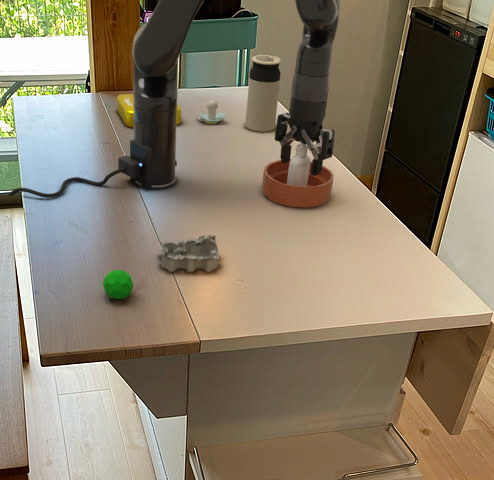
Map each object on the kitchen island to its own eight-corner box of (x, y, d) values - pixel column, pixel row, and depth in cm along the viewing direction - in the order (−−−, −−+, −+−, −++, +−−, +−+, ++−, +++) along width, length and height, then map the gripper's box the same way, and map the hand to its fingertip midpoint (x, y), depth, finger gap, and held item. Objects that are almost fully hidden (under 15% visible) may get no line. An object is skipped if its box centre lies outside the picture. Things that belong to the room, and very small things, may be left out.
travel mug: (250, 133, 188) (257, 63, 177) (241, 122, 194) (246, 54, 184) (278, 131, 190) (286, 62, 179) (268, 121, 196) (275, 54, 186)
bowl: (299, 215, 149) (302, 193, 147) (247, 190, 158) (249, 169, 155) (344, 196, 158) (347, 175, 155) (292, 174, 167) (295, 153, 164)
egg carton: (216, 253, 134) (218, 234, 132) (218, 274, 128) (220, 254, 126) (160, 251, 134) (160, 232, 131) (159, 272, 128) (160, 252, 125)
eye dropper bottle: (311, 194, 157) (319, 142, 150) (288, 197, 155) (295, 144, 149) (303, 186, 160) (310, 135, 154) (280, 189, 159) (286, 137, 152)
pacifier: (194, 118, 195) (200, 125, 190) (195, 95, 192) (201, 102, 187) (220, 117, 197) (226, 124, 192) (221, 94, 193) (228, 101, 189)
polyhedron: (123, 285, 123) (122, 261, 121) (138, 298, 120) (138, 274, 118) (98, 294, 121) (97, 270, 118) (113, 307, 118) (112, 283, 115)
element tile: (115, 109, 197) (115, 92, 195) (168, 107, 201) (168, 90, 199) (127, 128, 186) (127, 110, 183) (182, 125, 190) (183, 107, 187)
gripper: (271, 88, 148) (264, 162, 157) (324, 107, 139) (314, 183, 149) (295, 82, 152) (287, 154, 161) (348, 100, 144) (336, 175, 153)
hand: (300, 168), depth 155 cm, fingers open, 8 cm apart
